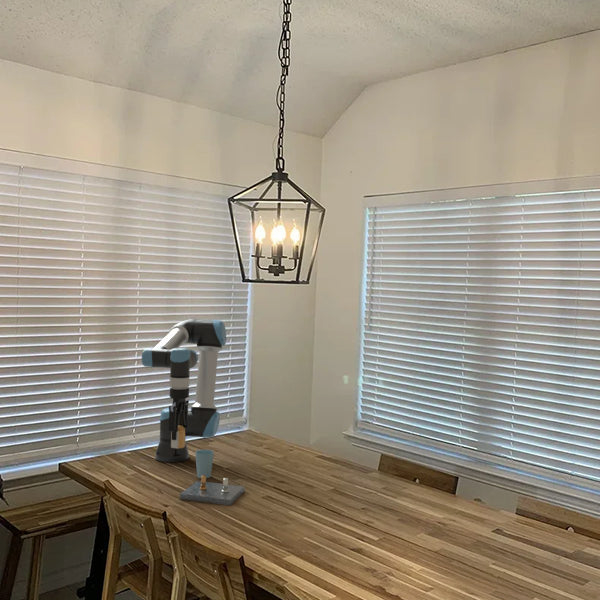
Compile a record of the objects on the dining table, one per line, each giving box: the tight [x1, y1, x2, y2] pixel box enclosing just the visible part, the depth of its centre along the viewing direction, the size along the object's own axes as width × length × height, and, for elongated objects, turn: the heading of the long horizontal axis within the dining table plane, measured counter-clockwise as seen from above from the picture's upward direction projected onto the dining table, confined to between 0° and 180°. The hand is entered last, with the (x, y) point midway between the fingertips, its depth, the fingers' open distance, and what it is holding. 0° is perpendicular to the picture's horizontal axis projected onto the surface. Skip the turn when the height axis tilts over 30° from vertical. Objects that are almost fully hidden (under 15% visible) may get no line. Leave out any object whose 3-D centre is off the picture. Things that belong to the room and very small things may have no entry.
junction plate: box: [179, 475, 245, 506], centre depth 240 cm, size 16×20×7 cm
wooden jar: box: [177, 425, 186, 449], centre depth 248 cm, size 5×5×8 cm
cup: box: [194, 449, 215, 479], centre depth 263 cm, size 8×8×10 cm
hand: (177, 445), depth 248 cm, fingers closed on wooden jar, 5 cm apart
